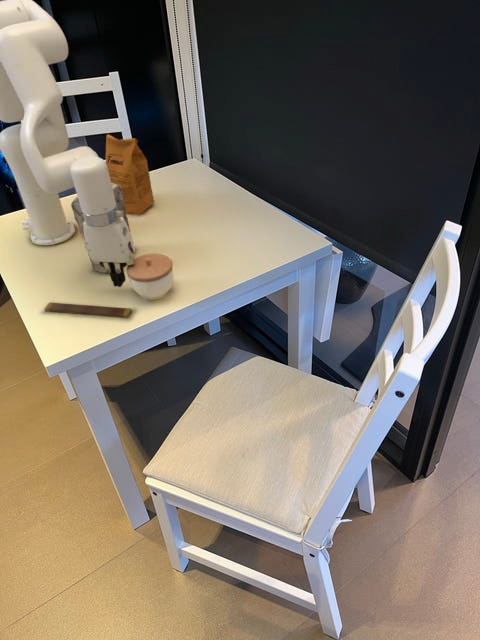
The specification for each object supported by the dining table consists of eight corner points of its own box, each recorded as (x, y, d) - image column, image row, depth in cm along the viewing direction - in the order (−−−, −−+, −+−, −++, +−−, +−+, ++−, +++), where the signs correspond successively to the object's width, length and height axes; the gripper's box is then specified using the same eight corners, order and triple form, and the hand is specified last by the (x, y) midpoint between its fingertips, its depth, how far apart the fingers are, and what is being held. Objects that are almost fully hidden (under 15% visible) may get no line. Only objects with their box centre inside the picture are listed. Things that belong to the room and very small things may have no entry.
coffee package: (130, 196, 168) (114, 128, 154) (159, 203, 163) (146, 133, 149) (108, 209, 162) (91, 139, 148) (138, 217, 156) (123, 145, 143)
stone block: (113, 275, 132) (93, 204, 120) (89, 272, 135) (68, 201, 122) (137, 249, 142) (121, 180, 129) (115, 246, 144) (97, 178, 131)
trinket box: (169, 307, 120) (163, 273, 115) (126, 304, 123) (117, 271, 117) (182, 280, 129) (176, 248, 123) (141, 278, 131) (134, 246, 125)
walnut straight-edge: (45, 311, 123) (44, 308, 122) (50, 304, 125) (49, 302, 124) (128, 318, 118) (127, 315, 118) (132, 311, 120) (131, 308, 120)
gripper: (139, 208, 115) (153, 276, 127) (78, 206, 118) (97, 273, 130) (126, 224, 109) (143, 294, 121) (62, 222, 113) (84, 290, 124)
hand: (119, 283), depth 125 cm, fingers closed
